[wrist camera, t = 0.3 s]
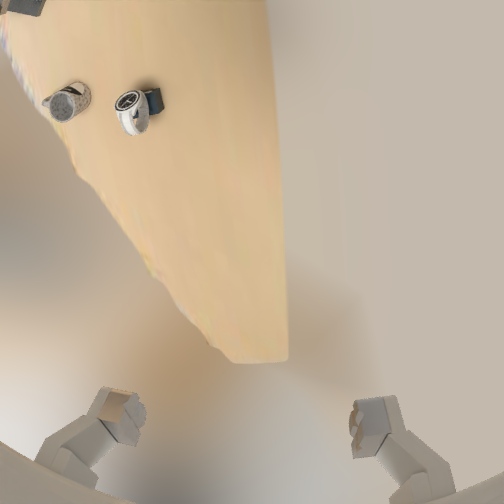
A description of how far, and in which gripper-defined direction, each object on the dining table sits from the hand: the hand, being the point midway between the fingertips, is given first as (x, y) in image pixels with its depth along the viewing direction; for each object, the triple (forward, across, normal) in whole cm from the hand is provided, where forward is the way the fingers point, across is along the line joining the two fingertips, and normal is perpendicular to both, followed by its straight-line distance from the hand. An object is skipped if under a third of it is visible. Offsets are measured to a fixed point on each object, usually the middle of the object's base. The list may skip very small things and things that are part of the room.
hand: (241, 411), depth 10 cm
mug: (+48, +40, -20) cm, 65 cm away
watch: (+50, +23, -15) cm, 56 cm away
